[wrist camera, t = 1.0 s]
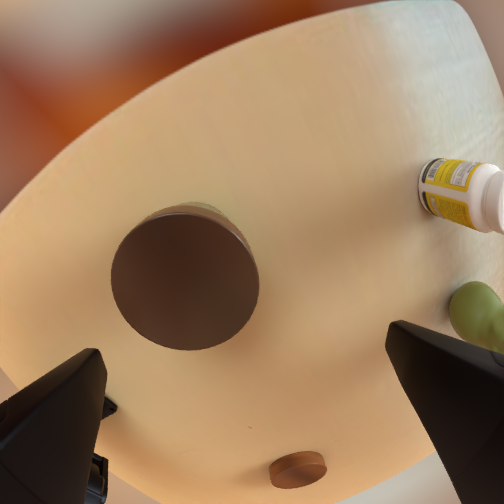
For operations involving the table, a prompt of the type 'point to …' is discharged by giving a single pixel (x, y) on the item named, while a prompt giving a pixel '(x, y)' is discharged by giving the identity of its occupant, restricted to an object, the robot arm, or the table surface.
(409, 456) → the table surface
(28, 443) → the robot arm
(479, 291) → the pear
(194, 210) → the walnut chip
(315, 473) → the teak chip
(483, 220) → the supplement bottle
